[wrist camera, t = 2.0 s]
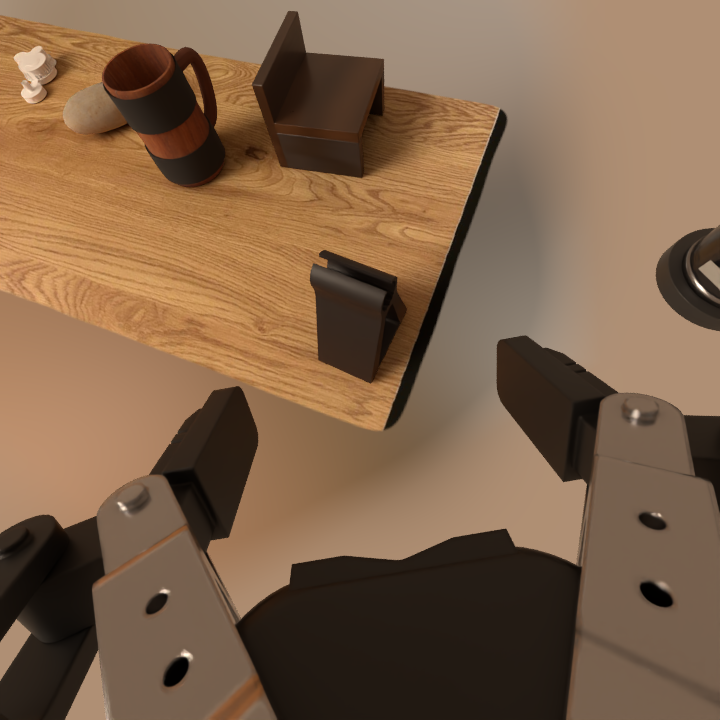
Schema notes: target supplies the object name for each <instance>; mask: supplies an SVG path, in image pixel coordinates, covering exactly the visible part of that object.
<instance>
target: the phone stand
mask: <svg viewBox="0 0 720 720" xmlns="http://www.w3.org/2000/svg"><path fill="white" fill-rule="evenodd" d="M319 257H322V258H324V259H327V260H328V264H327V268H324V267H322V266H319V265H317V264H314V263H313V266H312V269H311V274H310V283H311V286H312V287H313V288H314V291H315V295H316V313H317V337H318V360H320V361H322V362H324V363H326V364H329V365H331V366H333V367H335V368H338V369H340V370H342V371H344V372H346V373H349V374H351V375H353V376H355V377H357V378H360V379H362V380H364V381H366V382H369V383H372V381H373V379H374V377H375V375H376V373H377V371H378V369H379V367H380V364H381V362H382V360H383V358H384V356H385V354H386V352H387V350H388V348H389V345H390V344H391V342H392V340H393V338H394V336H395V334H396V332H397V330H398V328H399V326H400V324H401V321H402V319H403V317H404V315H405V313H406V311H407V308H406V306H405V304H404V303H403V301H402V300H401V298H400V296H399V295H398V293H397V277H396V276H393V275H390V274H388V273H385V272H382V271H380V270H377V269H374V268H372V267H369V266H366V265H364V264H361V263H358V262H356V261H353V260H350V259H348V258H345V257H342V256H340V255H337V254H334V253H332V252H329V251H326V250H323V251H321V252H320V253H319Z"/></svg>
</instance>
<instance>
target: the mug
mask: <svg viewBox="0 0 720 720" xmlns="http://www.w3.org/2000/svg"><path fill="white" fill-rule="evenodd" d="M190 63H191V65H192V67H193V69H194V72H195V74H196V77H197V80H198V83H199V86H200V90H201V94H202V98H203V104H204V114H203V112H202V110H201V108H200V106H199V105H198V103H197V101H196V97H195V94H194V92H193V90H192V89H191V87H190V85H189V83H188V81H187V79H186V77H185V75H184V73H183V71H184V70H185V69H186V67H187V66H188V65H189V64H190ZM102 81H103V87H104V90H105V91H106V93H107V94H108V95H109V97H110V98H111V100H112V101H113V102H114V104H115V105H116V107H117V108H118V110H119V111H120V112H121V114H122V115H123V117H124V118H125V120H126V121H127V123H128V124H129V126H130V127H131V128H132V129H133V130H135V131H136V132H137V133H138V135H139V136H140V138H141V139H142V140H143V142H144V143H145V147H146V149H147V151H148V153H149V154H150V156H151V157H152V159H153V160H154V162H155V164H156V165H157V166H158V168H159V169H160V171H161V172H162V173H163V174H164V176H165V177H166V178H167V179H168V180H170V181H171V182H173V183H176V184H178V185H181V186H185V187H195V186H200V185H203V184H205V183H207V182H209V181H211V180H212V179H214V178H215V177H216V176H217V175H218V174H219V172H220V171H221V169H222V167H223V165H224V158H225V149H224V146H223V144H222V142H221V140H220V138H219V136H218V134H217V132H216V130H215V129H214V126H215V124H216V120H217V105H216V99H215V94H214V90H213V86H212V82H211V79H210V76H209V73H208V71H207V68H206V66H205V64H204V62H203V60H202V58H201V57H200V56H199V54H198V53H197V52H196V51H194V50H193V49H191V48H188V47H184V48H181V49H180V50H178V52H177V53H176V54H175V55H174V56H173V55H172V54H171V53H170V52H169V51H168V50H167V49H166V48H165V47H163V46H161V45H157V44H141V45H136V46H133V47H130V48H128V49H126V50H124V51H122V52H120V53H119V54H117V55H116V56H115V57H113V58H112V59H111V60H110V61H109V62H108V64H107V65H106V67H105V68H104V70H103V74H102Z"/></svg>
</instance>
